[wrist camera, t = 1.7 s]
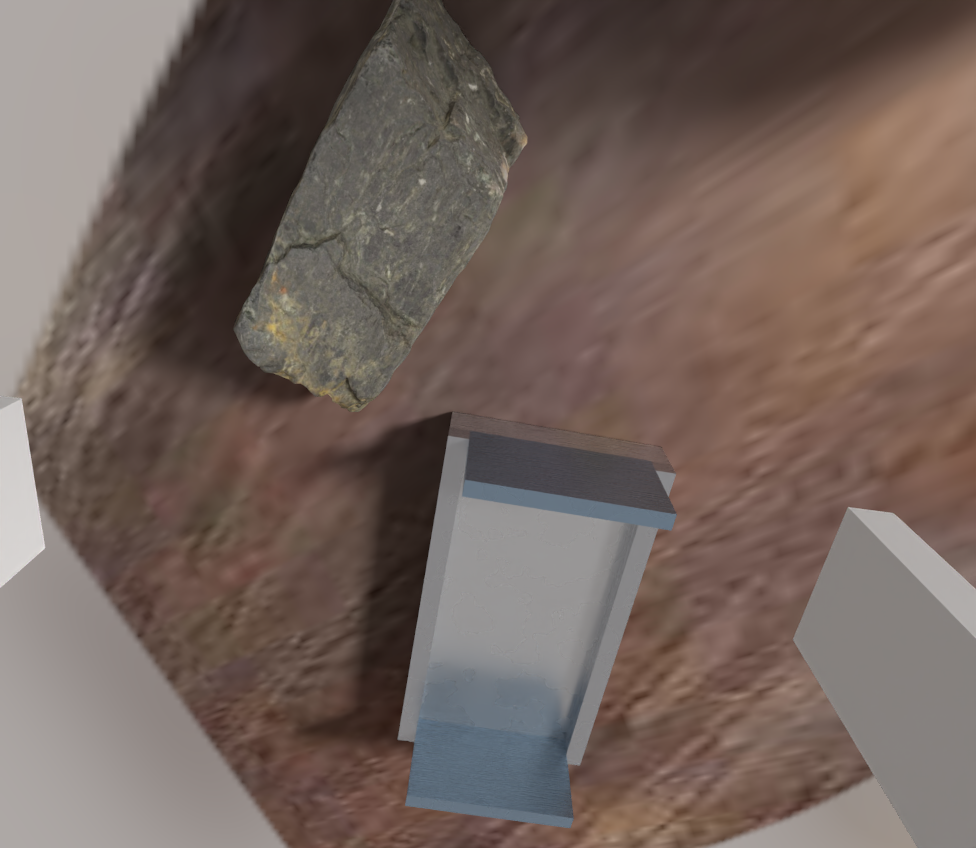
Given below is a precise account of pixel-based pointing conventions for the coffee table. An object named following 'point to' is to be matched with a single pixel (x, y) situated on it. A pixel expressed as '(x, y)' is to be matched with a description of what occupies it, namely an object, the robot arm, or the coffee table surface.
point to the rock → (383, 210)
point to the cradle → (524, 611)
